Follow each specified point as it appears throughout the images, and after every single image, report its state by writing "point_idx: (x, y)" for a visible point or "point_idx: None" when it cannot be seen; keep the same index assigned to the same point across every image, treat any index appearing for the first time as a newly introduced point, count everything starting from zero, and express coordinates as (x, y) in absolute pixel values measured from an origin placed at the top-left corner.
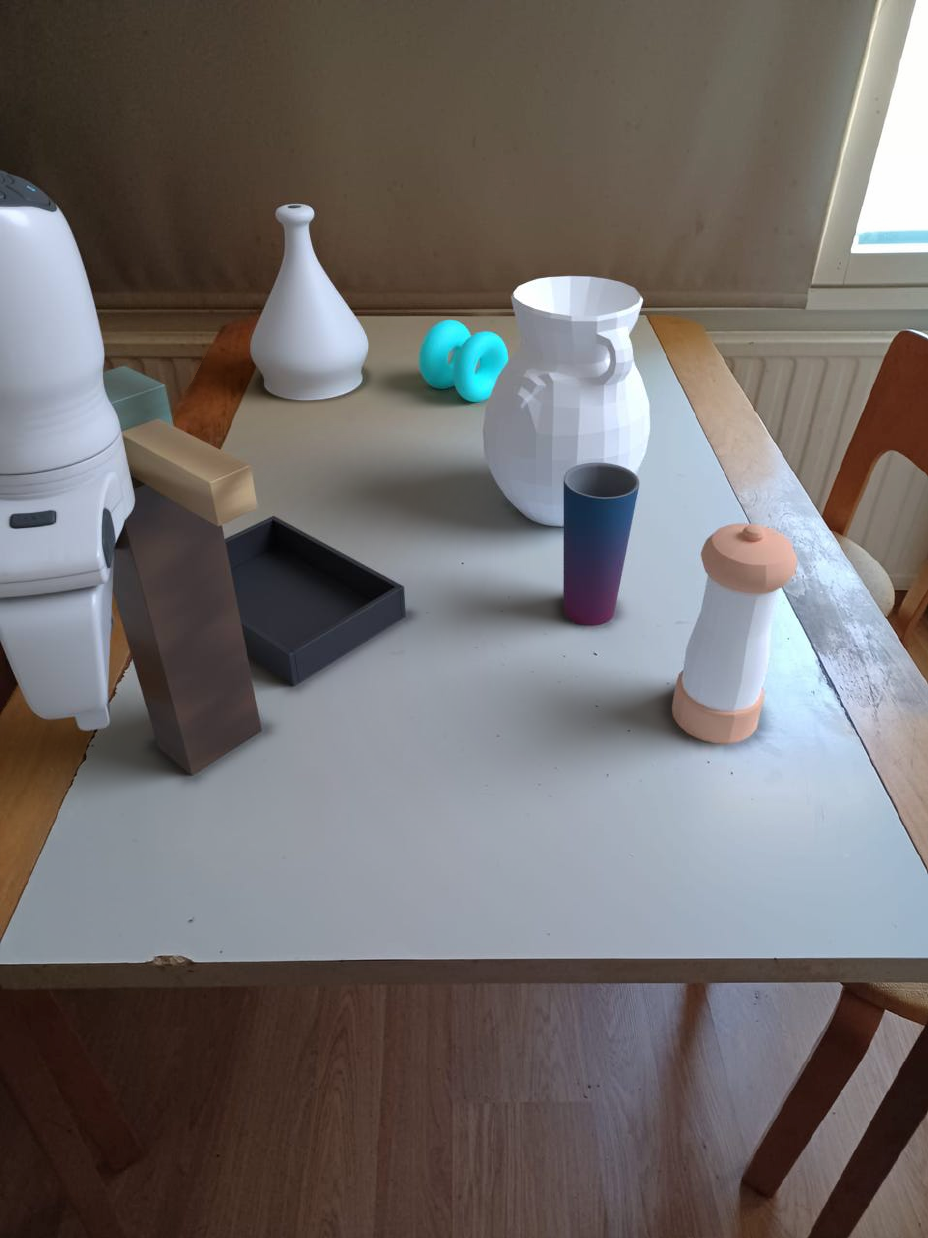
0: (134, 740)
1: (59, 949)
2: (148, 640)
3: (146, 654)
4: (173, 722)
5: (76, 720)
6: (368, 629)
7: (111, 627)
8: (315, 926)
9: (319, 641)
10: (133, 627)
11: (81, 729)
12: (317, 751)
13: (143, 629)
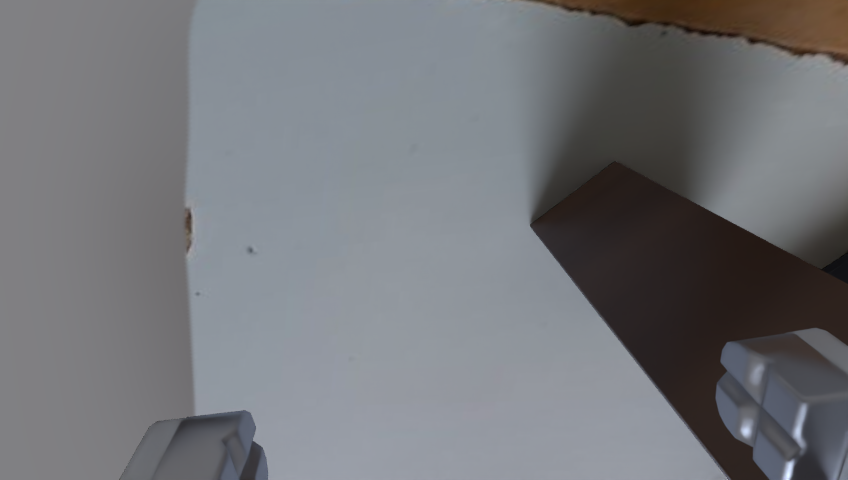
0: (652, 113)
1: (202, 59)
2: None
3: (713, 325)
4: (586, 264)
5: (135, 453)
6: None
7: (733, 430)
8: (235, 398)
9: None
10: None
11: (159, 421)
12: (543, 391)
13: None
